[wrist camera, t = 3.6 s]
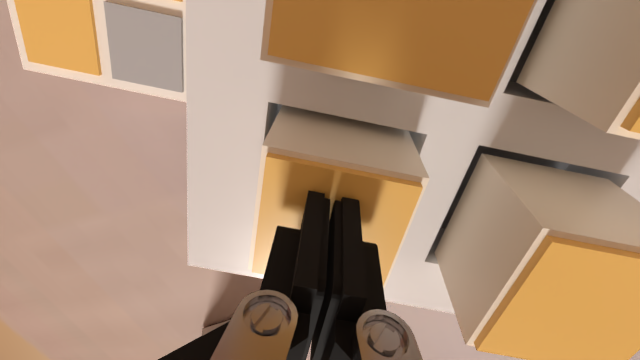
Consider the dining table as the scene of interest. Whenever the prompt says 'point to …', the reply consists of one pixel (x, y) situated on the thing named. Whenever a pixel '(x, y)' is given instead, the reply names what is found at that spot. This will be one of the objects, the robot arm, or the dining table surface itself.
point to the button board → (369, 106)
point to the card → (106, 42)
